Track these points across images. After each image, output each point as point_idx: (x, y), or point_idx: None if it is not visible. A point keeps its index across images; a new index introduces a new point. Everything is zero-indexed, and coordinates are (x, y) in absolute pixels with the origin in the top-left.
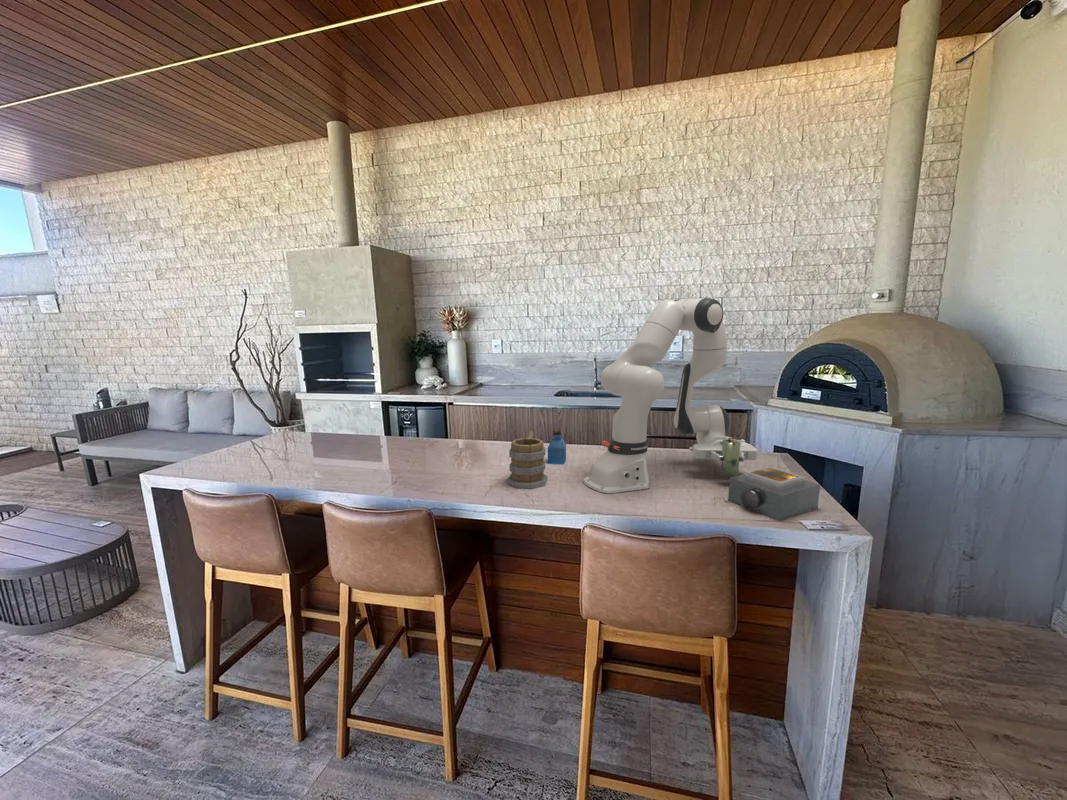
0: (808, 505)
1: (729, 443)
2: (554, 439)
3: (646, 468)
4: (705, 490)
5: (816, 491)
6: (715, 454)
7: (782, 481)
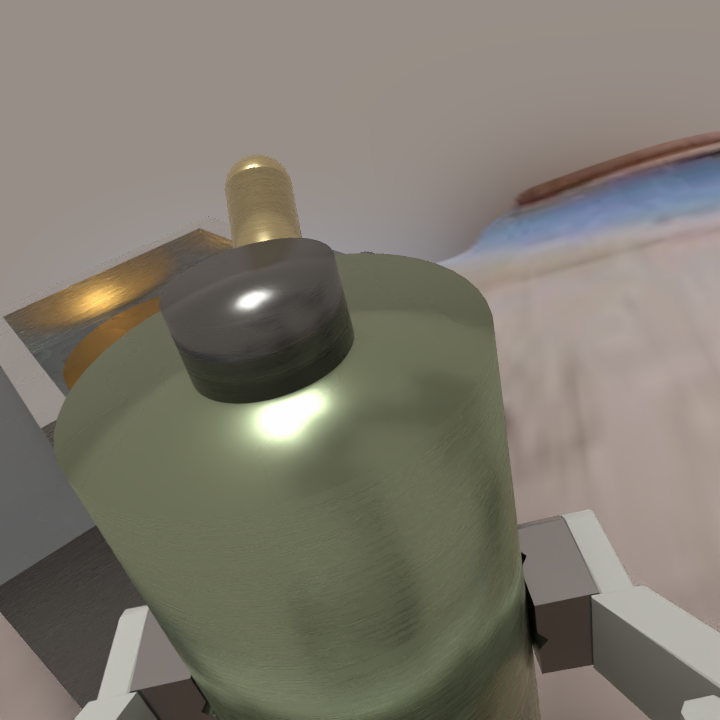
0: None
1: (363, 256)
2: None
3: None
4: (686, 567)
5: None
6: (667, 604)
7: (179, 235)
